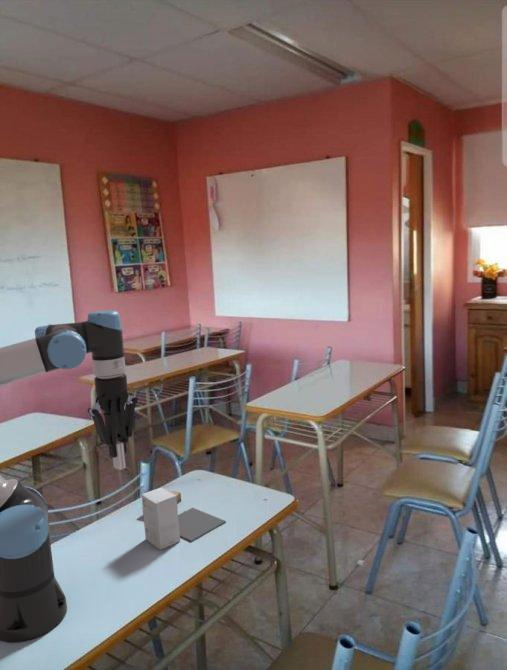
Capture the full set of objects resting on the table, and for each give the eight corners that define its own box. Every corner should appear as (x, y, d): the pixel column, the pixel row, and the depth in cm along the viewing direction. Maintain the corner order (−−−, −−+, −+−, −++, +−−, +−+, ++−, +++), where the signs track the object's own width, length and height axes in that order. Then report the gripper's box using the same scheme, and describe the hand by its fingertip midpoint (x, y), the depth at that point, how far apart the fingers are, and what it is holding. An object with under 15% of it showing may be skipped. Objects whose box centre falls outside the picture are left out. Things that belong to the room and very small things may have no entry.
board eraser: (156, 519, 161) (155, 509, 160) (143, 516, 163) (142, 506, 163) (181, 502, 171) (180, 492, 171) (168, 499, 173) (167, 489, 173)
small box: (180, 541, 147) (177, 495, 145) (160, 550, 143) (155, 503, 141) (165, 530, 153) (161, 486, 151) (145, 539, 149) (140, 494, 147)
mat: (191, 542, 147) (191, 540, 146) (158, 526, 156) (158, 525, 156) (225, 522, 156) (225, 521, 156) (192, 508, 165) (192, 507, 165)
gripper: (94, 382, 125) (105, 480, 129) (142, 370, 135) (150, 462, 139) (77, 378, 130) (87, 473, 134) (124, 367, 140) (132, 456, 144)
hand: (119, 467), depth 136 cm, fingers closed
